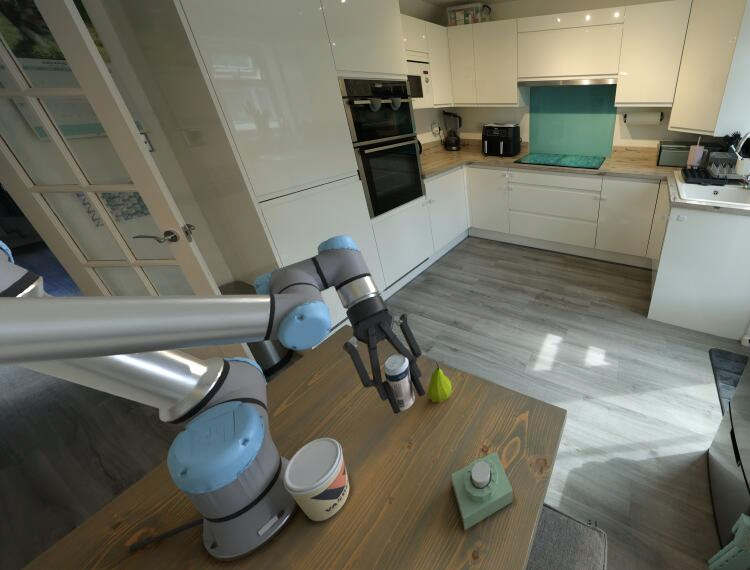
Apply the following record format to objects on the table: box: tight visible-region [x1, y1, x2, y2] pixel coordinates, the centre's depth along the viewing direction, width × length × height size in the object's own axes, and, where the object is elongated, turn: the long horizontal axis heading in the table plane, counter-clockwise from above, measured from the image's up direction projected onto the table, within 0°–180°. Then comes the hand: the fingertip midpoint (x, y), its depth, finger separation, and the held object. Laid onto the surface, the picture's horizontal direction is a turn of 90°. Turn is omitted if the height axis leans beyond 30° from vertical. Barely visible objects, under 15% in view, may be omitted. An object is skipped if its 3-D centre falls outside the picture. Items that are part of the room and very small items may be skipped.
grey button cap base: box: [450, 451, 514, 531], centre depth 62 cm, size 10×8×6 cm
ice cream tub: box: [284, 437, 350, 522], centre depth 60 cm, size 9×9×12 cm
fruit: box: [426, 361, 453, 403], centre depth 80 cm, size 6×6×12 cm
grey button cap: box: [471, 462, 490, 488], centre depth 60 cm, size 4×4×2 cm
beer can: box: [383, 353, 416, 412], centre depth 65 cm, size 5×5×12 cm
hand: (410, 403), depth 64 cm, fingers closed on beer can, 5 cm apart
